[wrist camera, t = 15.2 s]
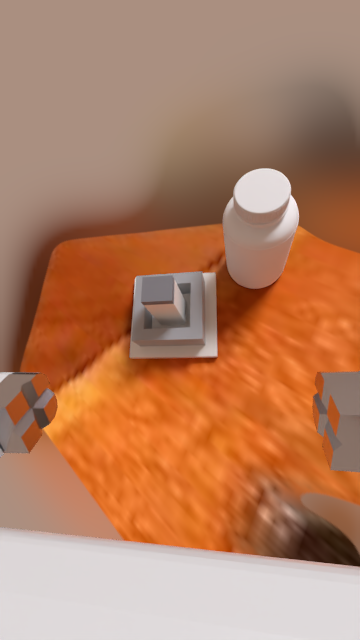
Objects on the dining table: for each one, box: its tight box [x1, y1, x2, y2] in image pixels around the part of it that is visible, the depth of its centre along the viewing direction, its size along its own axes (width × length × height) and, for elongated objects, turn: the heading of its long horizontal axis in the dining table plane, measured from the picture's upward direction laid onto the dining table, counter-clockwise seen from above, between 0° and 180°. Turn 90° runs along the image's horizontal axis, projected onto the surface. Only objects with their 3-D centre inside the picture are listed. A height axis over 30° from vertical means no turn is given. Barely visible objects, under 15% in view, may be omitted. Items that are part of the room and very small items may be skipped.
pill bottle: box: [223, 169, 299, 289], centre depth 34 cm, size 8×8×15 cm
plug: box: [141, 275, 186, 325], centre depth 36 cm, size 4×3×9 cm
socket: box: [129, 272, 218, 359], centre depth 39 cm, size 12×12×4 cm
